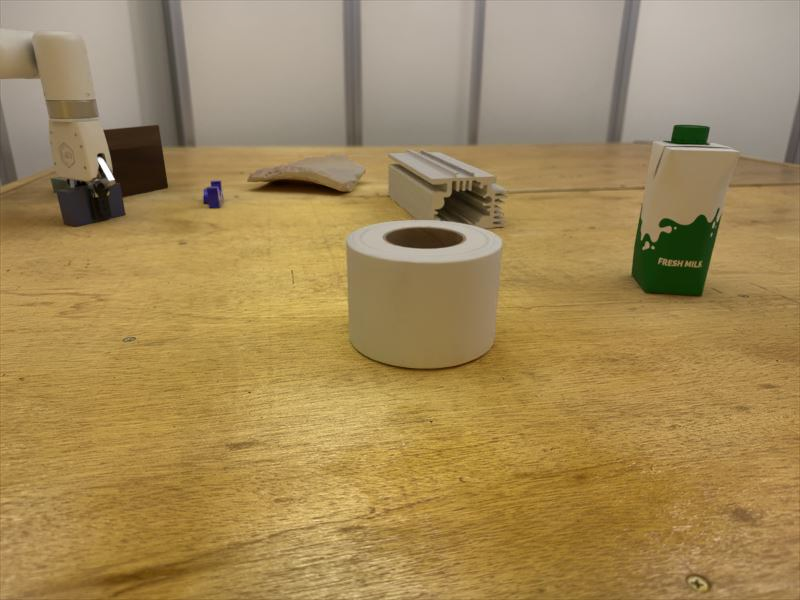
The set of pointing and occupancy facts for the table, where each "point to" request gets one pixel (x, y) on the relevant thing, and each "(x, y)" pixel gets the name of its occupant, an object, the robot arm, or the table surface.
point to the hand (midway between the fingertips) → (95, 215)
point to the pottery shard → (315, 172)
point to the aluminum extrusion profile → (445, 189)
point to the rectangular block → (87, 204)
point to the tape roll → (423, 292)
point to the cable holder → (213, 194)
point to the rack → (133, 160)
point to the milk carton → (681, 211)
